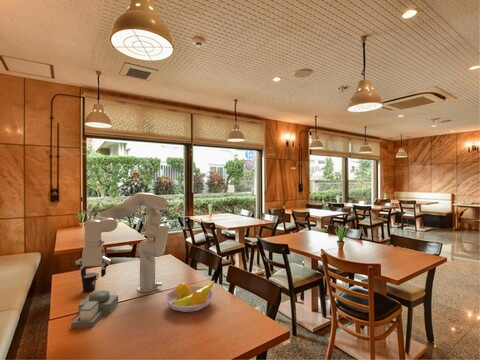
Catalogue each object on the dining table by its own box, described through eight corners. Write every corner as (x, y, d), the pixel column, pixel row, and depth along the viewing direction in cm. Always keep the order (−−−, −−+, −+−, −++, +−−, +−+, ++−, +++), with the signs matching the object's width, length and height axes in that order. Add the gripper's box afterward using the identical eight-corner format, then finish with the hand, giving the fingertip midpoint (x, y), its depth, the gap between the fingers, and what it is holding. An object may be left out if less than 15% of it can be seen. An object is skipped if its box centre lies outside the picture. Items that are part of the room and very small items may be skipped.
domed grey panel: (118, 303, 150) (118, 289, 150) (99, 326, 127) (99, 310, 127) (89, 304, 149) (89, 290, 149) (64, 328, 126) (64, 311, 126)
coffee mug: (84, 294, 161) (84, 278, 161) (78, 290, 167) (78, 275, 167) (104, 288, 171) (104, 273, 171) (97, 285, 176) (97, 270, 176)
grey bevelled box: (98, 314, 138) (98, 301, 138) (90, 323, 130) (90, 308, 130) (88, 314, 137) (88, 301, 137) (80, 323, 129) (80, 309, 129)
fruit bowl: (165, 321, 133) (166, 299, 133) (166, 297, 159) (166, 278, 159) (220, 314, 140) (220, 293, 140) (212, 292, 166) (212, 274, 166)
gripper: (113, 241, 141) (113, 273, 142) (79, 242, 140) (79, 274, 140) (107, 245, 134) (107, 278, 134) (71, 246, 132) (72, 279, 133)
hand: (93, 276), depth 137 cm, fingers open, 9 cm apart
